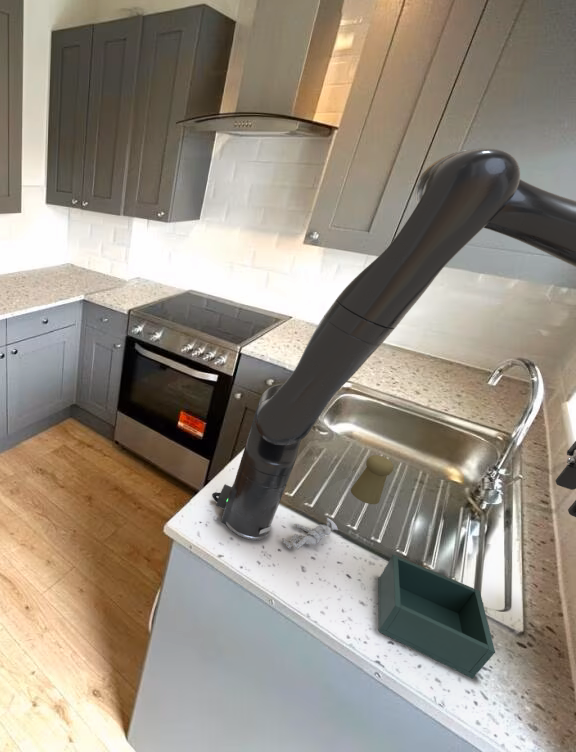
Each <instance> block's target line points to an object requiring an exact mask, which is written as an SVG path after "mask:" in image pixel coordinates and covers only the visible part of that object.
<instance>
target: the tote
mask: <svg viewBox="0 0 576 752" xmlns="http://www.w3.org/2000/svg"><path fill="white" fill-rule="evenodd" d="M377 584H378V586H377V587H378V588H377V589H378V591H377V592H378V593H377V595H378V632H379V633H380V634H382V635H384V636H386V637H388V638H390V639H392V640H394V641H396V642H398V643H401V644H402V645H404V646H406V647H409V648H411V649H413V650H415V651H416V652H418V653H421V654H423V655H425V656H427V657H429V658H431V659H432V660H435V661H437V662H438V663H441V664H442V665H445V666H447V667H448V668H451V669H452V670H454V671H456V672H459V673H461V674H463V675H464V676H466V677H469V678H470V679H474V678H475V677H476V676H477V674H478V673H479V672H480V671H481V670H482V668H483V667H484V666H486V664H487V663H488V662H489V660H490V659H491V658H492V657H493V656H494V655H495V653H496V648H495V645H494V642H493V638H492V633H491V630H490V629H491V628H490V625H489V622H488V617H487V614H486V609H485V606H484V602H483V598H482V593H481V591H480V590H478V589H477V588H474V587H472V586H470V585H467V584H465V583H462V582H461V581H458V580H456V579H452V578H450V577H448V576H446V575H443V574H441V573H439V572H436V571H433V570H431V569H429V568H427V567H425V566H421V565H420V564H417V563H414V562H413V561H409V560H408V559H405V558H403V557H401V556H398V555H396V554H392V555H391V556H390V559H388V562H387V564H386V565H385V567H384V569H383V570H382V572H381V574H380V576H379V578H378V581H377Z"/></svg>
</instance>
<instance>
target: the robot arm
mask: <svg viewBox="0 0 576 752" xmlns="http://www.w3.org/2000/svg"><path fill="white" fill-rule="evenodd" d="M520 168H521V167H520V165H519V162H518V160H516V158H515V157H514V156H513V155H512V154H511V153H509V152H507V151H504V150H502V149H498V148H473V149H466V150H465V149H464V150H460V151H457V152H452V153H449V154H448V155H445V156H443V157H441V158H440V159H438V160H436V161H434V162H433V163H432V164H431V165H429V166H428V167H427V168H426V169H425V170H424V171H423V173H422V174H421V175H420V177H419V178H418V180H417V183H416V185H415V191H414V197H415V202H416V206H415V208H414V210H413V211H412V212H411V215H410V216H409V217H408V219H407V220H406V222H405V223H404V225H403V226H402V228H401V229H400V231H399V232H398V234H397V235H396V236H395V238H394V239H393V241H392V242H390V244H389V245H388V246H387V248H385V249H384V251H383V252H382V253H380V255H379V256H378V257H376V258H375V259H374V260H373V261H372V262H370V264H368V265H367V266H366V267H365V268H364V269H363V270H362V271H361V272H360V273H358V274H357V276H355V278H354V279H352V280H351V281H350V282H349V283H348V284H347V286H346V287H345V288H344V289H343V290H342V291H341V293H340V294H339V295H338V296H337V297H336V299H335V300H334V302H333V303H332V304H331V305H330V307H329V308H328V310H327V311H326V312H325V314H324V315H323V316H322V318H321V319H320V320H319V323H318V324H317V326H316V328H315V329H314V331H313V333H312V334H311V336H310V339H309V341H308V343H307V344H306V347H305V348H304V350H303V352H302V355H301V357H300V358H299V361H298V363H297V365H296V367H295V368H294V370H293V371H292V373H291V374H290V376H289V377H288V378H287V379H286V380H285V382H284V383H279V384H275V385H272V386H270V387H268V388H267V389H266V390H265V391H264V392H263V393H262V394H261V396H260V397H259V400H258V403H257V406H256V409H255V412H254V416H253V419H252V423H251V426H250V429H249V432H248V435H247V439H246V442H245V446H244V449H243V453H242V456H241V459H240V462H239V465H238V469H237V472H236V475H235V478H234V481H233V484H232V486H231V485H228V484H226V483H224V485H223V487H222V489H221V491H220V492H217V491H214V492H213V493H211V498H212V499H213V500H214V501H215V503H216V504H215V507H218V508H220V509H222V510H223V513H222V517H221V520H220V522H221V523H222V524H224V525H226V527H227V528H228V529H229V530H230V531H231V532H232V533H234V534H235V535H237V536H238V537H241V538H243V539H245V540H249V541H260V540H264V539H266V538H267V536H268V535H269V533H270V531H271V529H272V524H273V522H274V518H275V516H276V513H277V511H278V508H279V505H280V502H281V500H282V497H283V495H284V492H285V489H286V487H287V484H288V482H289V479H290V476H291V474H292V471H293V469H294V466H295V465H296V464H295V463H296V461H297V456H298V452H299V448H300V444H301V441H302V440H304V439H305V438H306V437H307V436H308V435H309V433H310V432H311V430H312V429H313V427H314V426H315V424H316V423H317V421H318V419H319V418H320V416H321V415H322V414H323V412H324V411H325V409H326V407H327V406H328V404H329V403H330V402H331V401H332V399H333V397H334V396H335V395H336V394H337V393H338V391H339V390H341V388H343V386H344V385H345V384H346V383H347V382H348V381H349V380H351V378H352V377H353V376H354V375H355V374H356V373H357V372H358V371H359V370H360V368H361V367H362V366H363V365H364V364H365V363H366V362H367V360H369V358H370V357H371V356H372V355H373V354H374V353H375V352H376V351H377V350H378V349H379V347H380V346H381V345H382V344H384V342H385V341H386V340H387V339H388V337H389V336H390V335H391V334H392V333H393V331H394V330H395V329H396V328H397V327H398V325H400V323H401V322H402V320H403V319H404V318H405V316H406V315H407V314H408V313H409V312H410V311H411V309H412V308H413V307H414V305H415V304H416V303H418V301H419V299H420V298H421V297H422V296H423V295H424V293H425V292H426V291H427V290H428V288H429V287H430V286H431V284H432V283H433V282H434V281H435V279H436V277H437V276H438V275H439V274H440V273H441V271H442V270H444V268H445V267H446V266H447V265H448V264H449V262H451V260H452V259H453V258H454V257H455V256H456V255H458V254H459V253H460V251H461V250H463V249H464V248H465V247H466V245H468V243H470V241H472V239H474V237H476V236H477V235H478V234H479V233H480V232H481V231H483V229H485V230H490V231H492V232H495V233H498V234H500V235H504V236H506V237H509V238H511V239H514V240H517V241H518V242H521V243H523V244H526V245H529V246H531V247H533V248H535V249H536V250H539V251H541V252H543V253H545V254H547V255H549V256H552V257H554V258H556V259H558V260H560V261H562V262H564V263H566V264H568V265H571V266H572V267H574V268H576V200H574V199H572V198H567V197H565V196H561V195H559V194H555V193H553V192H551V191H548V190H545V189H542V188H540V187H538V186H535V185H534V184H531V183H529V182H527V181H525V180H523V179H521V169H520ZM566 456H569V457H568V458H567V460H566V466H565V467H564V468H563V469H562V471H561V472H560V474H559V475H558V476H557V477H556V478H555V480H554V481H555V484H556V485H557V486H559V487H562V488H564V489H568V490H570V491H571V490H572V491H573V490H576V440H575V441H574V442H573V443H572V445H571V446H570V447H569V448H568V449H567V451H566ZM567 512H568V514H569V515H570V516H572V517H574V518H576V499H575V500H574V501H573V503H572V504H571V505H570V506H569V508H568V509H567Z"/></svg>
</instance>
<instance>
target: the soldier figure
mask: <svg viewBox="0 0 576 752" xmlns="http://www.w3.org/2000/svg"><path fill="white" fill-rule="evenodd" d="M293 525H294V526H296V527H295V528H297V529H298V528H300V530H302V531H305V532H306V534H305V535H304V534H301V533H300V534H299V533H294V534H293V535H292V536H291V537H290V538H291V539H290V540H289V541H287V540H286V539H285V538H282V542H283V544H284V545H285V546H286V547H287V548H288V549H291V548H292V547H294V549H295V550H297V551H298V550H300V547H302V546H303V545H305V544H307V545H316V544H318V543H319V542H320V540H321V539H322V538H325V537H327V536H330V535H331V533H332V532H333V531H334V530H335V531H339V529H338V526H337V524H336V523H335V522H334V521H333V520H332V519H330V517H326V524H318V525H317V526H315V527H312V528H308V527H306V526H303V525H301V524H299V523H294V524H293Z"/></svg>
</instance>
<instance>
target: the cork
mask: <svg viewBox="0 0 576 752" xmlns="http://www.w3.org/2000/svg"><path fill="white" fill-rule="evenodd" d="M365 463H366V464H365V466H366V467H365V469H364V470H363V472H362V473H361V474H360V475H359V477H358V478H357V480H356V481H355V483H354V484H353V485H352V487H351V488H350V493H351V495H352V496H353V497H354V498H356V499H357V500H359V501H361V502H362V503H365V504H369V505H377V504H379V503H380V501H381V497H382V494H383V491H384V487H385V484H386V481H387V477H388V476H390V475H391V474H392V473H393V472H394V463H393V462H392V461H391V460H390V459H389V458H387V457H385V456H382V455H379V454H378V455H377V454H373V455H370V456H369V457H368V458H367V459H366V461H365Z"/></svg>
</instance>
